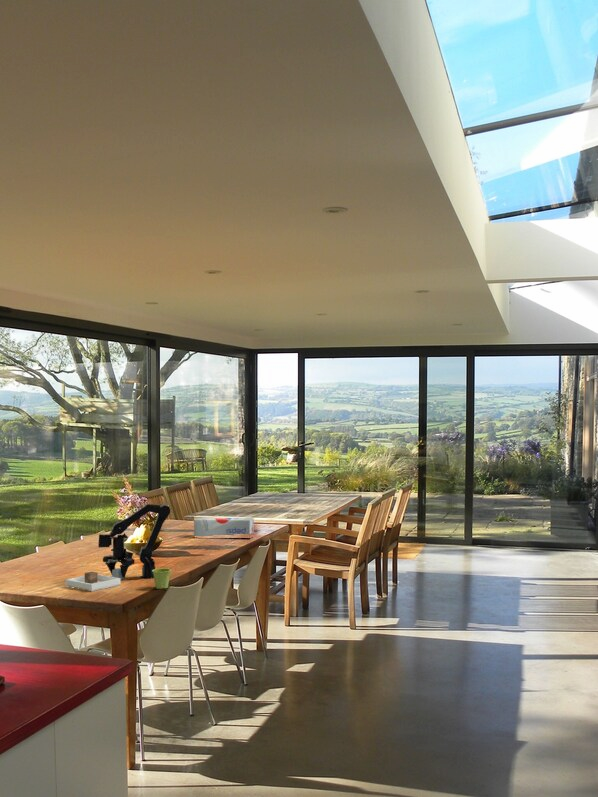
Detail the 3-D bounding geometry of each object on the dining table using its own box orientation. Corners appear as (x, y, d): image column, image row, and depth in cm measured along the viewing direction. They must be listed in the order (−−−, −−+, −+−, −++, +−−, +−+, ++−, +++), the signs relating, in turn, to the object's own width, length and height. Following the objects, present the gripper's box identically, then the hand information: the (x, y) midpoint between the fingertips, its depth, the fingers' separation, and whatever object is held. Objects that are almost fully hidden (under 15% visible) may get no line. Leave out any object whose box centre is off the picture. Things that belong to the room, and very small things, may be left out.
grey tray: (120, 585, 391) (120, 578, 391) (91, 591, 376) (91, 584, 376) (94, 580, 402) (94, 573, 402) (65, 586, 388) (65, 579, 388)
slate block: (124, 578, 407) (124, 569, 407) (118, 580, 403) (118, 570, 403) (118, 577, 409) (118, 568, 410) (112, 579, 406) (112, 569, 406)
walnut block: (97, 582, 394) (97, 572, 394) (90, 584, 390) (90, 574, 390) (91, 581, 396) (91, 571, 396) (84, 582, 393) (84, 572, 393)
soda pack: (254, 537, 549) (254, 517, 549) (250, 540, 536) (250, 519, 536) (198, 536, 555) (198, 516, 556) (193, 538, 543) (193, 518, 543)
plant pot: (148, 589, 382) (148, 571, 382) (158, 585, 391) (158, 567, 391) (164, 590, 379) (164, 572, 379) (174, 586, 387) (174, 569, 388)
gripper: (142, 546, 408) (142, 576, 407) (118, 543, 419) (118, 572, 418) (126, 549, 399) (126, 579, 398) (102, 545, 410) (102, 575, 409)
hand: (118, 576), depth 406 cm, fingers open, 8 cm apart
